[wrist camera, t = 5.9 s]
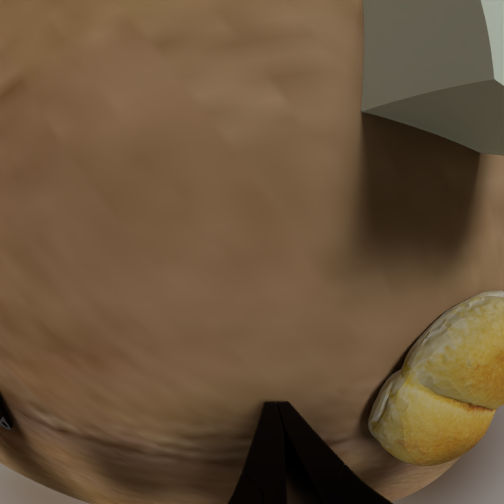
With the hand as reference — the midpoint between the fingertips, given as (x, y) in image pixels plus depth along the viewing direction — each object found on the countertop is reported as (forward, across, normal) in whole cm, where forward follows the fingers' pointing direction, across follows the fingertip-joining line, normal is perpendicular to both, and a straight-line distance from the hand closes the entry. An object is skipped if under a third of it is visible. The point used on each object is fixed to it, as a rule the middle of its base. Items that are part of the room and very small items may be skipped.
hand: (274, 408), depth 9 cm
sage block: (+1, -4, -12) cm, 13 cm away
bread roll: (+1, -9, 0) cm, 9 cm away
